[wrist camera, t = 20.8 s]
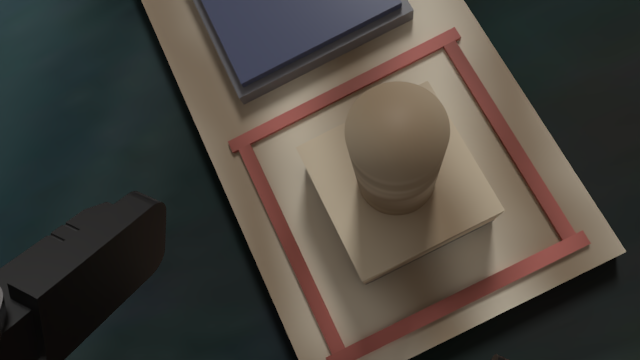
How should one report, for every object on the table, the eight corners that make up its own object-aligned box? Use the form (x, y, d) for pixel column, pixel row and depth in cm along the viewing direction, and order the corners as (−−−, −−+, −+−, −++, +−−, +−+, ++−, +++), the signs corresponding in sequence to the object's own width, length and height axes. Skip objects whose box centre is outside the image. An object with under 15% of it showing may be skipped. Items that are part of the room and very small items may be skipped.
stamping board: (321, 399, 23) (317, 404, 22) (136, -19, 29) (125, -33, 28) (616, 254, 23) (628, 251, 21) (366, -137, 29) (365, -156, 28)
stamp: (365, 284, 23) (349, 272, 15) (306, 164, 24) (261, 92, 16) (492, 221, 23) (548, 172, 14) (424, 105, 24) (439, 1, 16)
